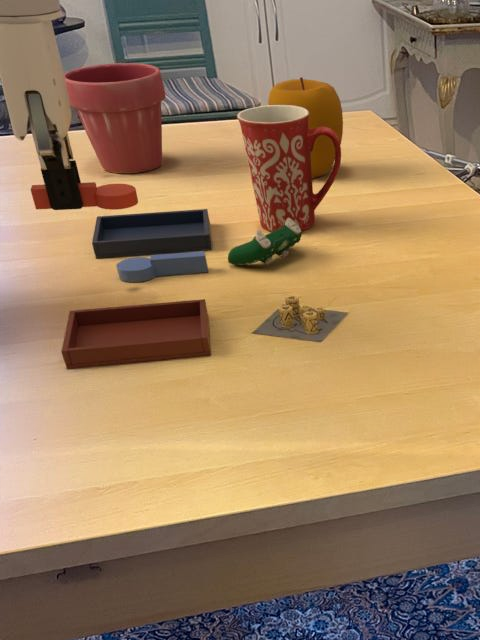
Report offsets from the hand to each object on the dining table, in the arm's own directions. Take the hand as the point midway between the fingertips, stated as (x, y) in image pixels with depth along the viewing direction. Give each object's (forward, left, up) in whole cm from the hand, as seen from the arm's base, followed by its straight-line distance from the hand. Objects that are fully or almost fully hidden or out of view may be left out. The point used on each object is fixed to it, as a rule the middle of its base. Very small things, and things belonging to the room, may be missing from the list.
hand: (68, 204), depth 100 cm
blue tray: (+6, +19, -11) cm, 22 cm away
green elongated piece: (+20, +9, -11) cm, 25 cm away
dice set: (+22, -11, -11) cm, 27 cm away
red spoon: (+2, 0, 0) cm, 2 cm away
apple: (+29, +44, -11) cm, 54 cm away
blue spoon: (+7, +7, -11) cm, 15 cm away
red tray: (+5, -12, -11) cm, 17 cm away
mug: (+25, +21, -11) cm, 35 cm away
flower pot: (+2, +54, -11) cm, 55 cm away
